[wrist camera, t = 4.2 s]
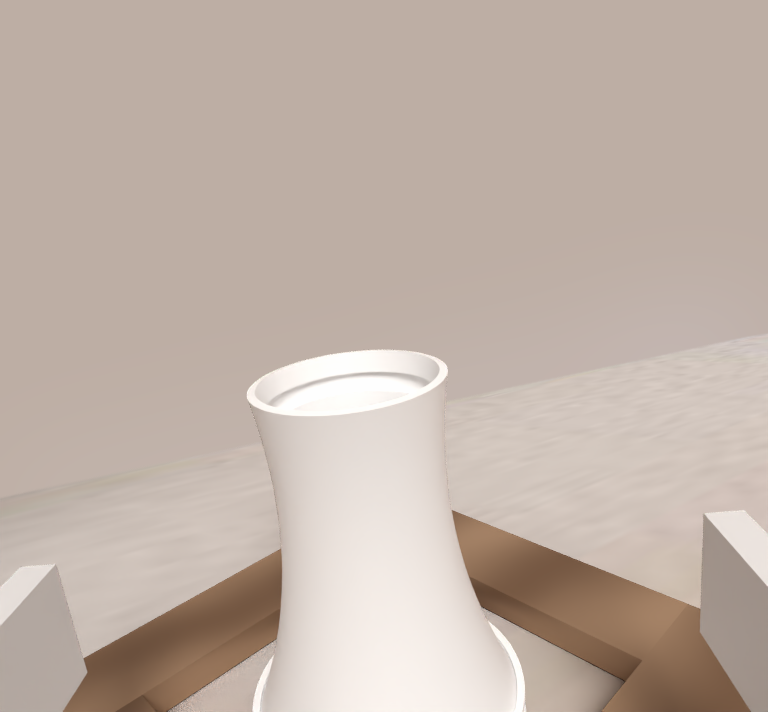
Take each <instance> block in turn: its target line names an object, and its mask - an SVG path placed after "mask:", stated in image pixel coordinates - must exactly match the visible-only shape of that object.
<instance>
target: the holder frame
mask: <svg viewBox="0 0 768 712" xmlns="http://www.w3.org/2000/svg"><path fill="white" fill-rule="evenodd" d="M452 515H453V520H454V525H455V530H456V534H457V538H458V542H459V546H460V550H461V553H462V557H463V560H464V564H465V567H466V570H467V573H468V576H469V579H470V581H471V584H472V587H473V589H474V592H475V594H476V597H477V599H478V601H479V603H480V606H482V607H484V608H486V609H487V610H489V611H491V612H493V613H495V614H497V615H499V616H501V617H503V618H505V619H507V620H509V621H511V622H512V623H514V624H516V625H518V626H520V627H522V628H524V629H526V630H528V631H530V632H532V633H534V634H536V635H538V636H539V637H541V638H543V639H545V640H547V641H549V642H551V643H553V644H555V645H557V646H559V647H561V648H563V649H564V650H566V651H568V652H570V653H572V654H574V655H576V656H578V657H580V658H582V659H584V660H586V661H588V662H590V663H591V664H593V665H595V666H597V667H599V668H601V669H603V670H605V671H607V672H609V673H611V674H613V675H615V676H616V677H618V678H620V679H622V680H624V681H626V682H625V683H624V684H623V685H622V686H621V688H620V689H619V690H618V691H617V693H616V694H615V695H614V696H613V698H612V699H611V700H610V701H609V703H608V704H607V705H606V706H605V708H604V709H603V710H602V711H601V712H751V711H750V709H749V708H748V706H747V705H746V703H745V702H744V700H743V698H742V697H741V695H740V694H739V692H738V691H737V689H736V687H735V686H734V684H733V683H732V681H731V680H730V678H729V677H728V675H727V673H726V672H725V670H724V669H723V667H722V666H721V664H720V662H719V661H718V659H717V658H716V656H715V655H714V653H713V652H712V650H711V648H710V647H709V645H708V644H707V642H706V641H705V639H704V638H703V636H702V634H701V633H700V609H699V608H696V607H694V606H691V605H689V604H686V603H684V602H681V601H679V600H676V599H674V598H671V597H669V596H666V595H664V594H661V593H659V592H656V591H654V590H651V589H649V588H646V587H644V586H641V585H639V584H636V583H634V582H631V581H629V580H626V579H624V578H621V577H619V576H616V575H613V574H611V573H608V572H606V571H603V570H601V569H598V568H596V567H593V566H591V565H588V564H586V563H583V562H581V561H578V560H576V559H573V558H571V557H568V556H566V555H563V554H561V553H558V552H556V551H553V550H551V549H548V548H546V547H543V546H541V545H538V544H536V543H533V542H531V541H528V540H526V539H523V538H521V537H518V536H516V535H513V534H511V533H508V532H505V531H503V530H500V529H498V528H495V527H493V526H490V525H488V524H485V523H483V522H480V521H478V520H475V519H473V518H470V517H468V516H465V515H463V514H460V513H458V512H455V511H453V510H452ZM281 595H282V553H281V549H280V550H278V551H276V552H274V553H272V554H271V555H269V556H267V557H265V558H263V559H262V560H260V561H258V562H256V563H254V564H253V565H251V566H249V567H247V568H245V569H244V570H242V571H240V572H238V573H236V574H235V575H233V576H231V577H229V578H227V579H226V580H224V581H222V582H220V583H218V584H217V585H215V586H213V587H211V588H209V589H208V590H206V591H204V592H202V593H200V594H199V595H197V596H195V597H193V598H191V599H190V600H188V601H186V602H184V603H182V604H181V605H179V606H177V607H175V608H173V609H172V610H170V611H168V612H166V613H164V614H163V615H161V616H159V617H157V618H155V619H154V620H152V621H150V622H148V623H146V624H145V625H143V626H141V627H139V628H138V629H136V630H134V631H132V632H130V633H129V634H127V635H125V636H123V637H121V638H120V639H118V640H116V641H114V642H112V643H111V644H109V645H107V646H105V647H103V648H102V649H100V650H98V651H96V652H94V653H93V654H91V655H89V656H87V657H85V658H84V662H85V666H86V669H87V674H86V676H85V677H84V679H83V680H82V682H81V684H80V685H79V687H78V688H77V690H76V691H75V693H74V695H73V696H72V698H71V699H70V701H69V702H68V704H67V705H66V707H65V709H64V710H63V712H166V711H168V710H169V709H171V708H172V707H174V706H175V705H177V704H178V703H180V702H181V701H183V700H184V699H186V698H187V697H189V696H190V695H192V694H193V693H195V692H196V691H198V690H199V689H201V688H203V687H204V686H206V685H207V684H209V683H210V682H212V681H213V680H215V679H216V678H218V677H219V676H221V675H222V674H224V673H225V672H227V671H228V670H230V669H231V668H233V667H234V666H236V665H237V664H239V663H240V662H242V661H243V660H245V659H246V658H248V657H249V656H251V655H252V654H254V653H255V652H257V651H258V650H260V649H261V648H263V647H264V646H266V645H267V644H269V643H270V642H272V641H273V640H275V639H277V634H278V628H279V620H280V610H281Z"/></svg>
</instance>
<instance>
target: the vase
mask: <svg viewBox="0 0 768 712" xmlns="http://www.w3.org/2000/svg"><path fill="white" fill-rule="evenodd" d="M447 374H448V368H447V366H446V364H445V363H444V362H442V361H441V360H439V359H438V358H435V357H433V356H430V355H427V354H423V353H418V352H411V351H403V350H365V351H353V352H345V353H338V354H331V355H326V356H321V357H316V358H312V359H308V360H304V361H300V362H297V363H293V364H290V365H287V366H285V367H282V368H279V369H277V370H275V371H273V372H270V373H268V374H266V375H265V376H263V377H261V378H260V379H258V380H257V381H256V382H255V383H253V384H252V385H251V386H250V388H249V389H248V391H247V399H248V402H249V405H250V407H251V410H252V413H253V416H254V419H255V421H256V424H257V427H258V431H259V434H260V437H261V440H262V444H263V448H264V451H265V455H266V459H267V462H268V466H269V471H270V475H271V480H272V484H273V489H274V495H275V500H276V506H277V513H278V521H279V529H280V539H281V553H282V595H281V610H280V620H279V628H278V634H277V641H276V646H275V652H274V655H273V656H272V658H271V659H270V661H269V662H268V664H267V666H266V667H265V669H264V671H263V673H262V675H261V677H260V680H259V682H258V685H257V688H256V691H255V695H254V701H253V711H252V712H526V705H525V685H524V677H523V672H522V668H521V665H520V662H519V660H518V657H517V655H516V653H515V651H514V649H513V648H512V646H511V645H510V643H509V642H508V640H507V639H506V638H505V637H504V635H503V634H502V633H501V632H500V631H499V630H498V629H497V628H496V627H495V626H494V625H493V624H491V623H490V622H489V621H488V620H487V619H486V616H485V614H484V612H483V610H482V608H481V606H480V603H479V601H478V599H477V597H476V594H475V592H474V589H473V587H472V584H471V581H470V579H469V576H468V573H467V570H466V567H465V564H464V560H463V557H462V553H461V550H460V546H459V542H458V538H457V534H456V530H455V525H454V520H453V515H452V509H451V503H450V496H449V489H448V479H447V469H446V450H445V402H446V384H447ZM261 702H262V703H261Z"/></svg>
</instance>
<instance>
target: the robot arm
mask: <svg viewBox="0 0 768 712" xmlns="http://www.w3.org/2000/svg"><path fill="white" fill-rule="evenodd" d="M700 633H701V634H702V636H703V638H704V639H705V641H706V642H707V644H708V645H709V647H710V648H711V650H712V652H713V653H714V655H715V656H716V658H717V659H718V661H719V662H720V664H721V666H722V667H723V669H724V670H725V672H726V673H727V675H728V677H729V678H730V680H731V681H732V683H733V684H734V686H735V687H736V689H737V691H738V692H739V694H740V695H741V697H742V698H743V700H744V702H745V703H746V705H747V706H748V708H749V709H750V711H751V712H768V533H767V532H766V531H765V530H764V529H763V528H762V527H761V526H760V525H759V524H758V523H757V522H756V521H755V520H754V519H753V518H752V517H751V516H750V515H749V514H748V513H747V512H746V511H745V510H738V511H726V512H713V513H704V516H703V547H702V578H701V609H700ZM86 674H87V669H86V666H85V662H84V659H83V655H82V652H81V648H80V645H79V641H78V638H77V635H76V631H75V628H74V624H73V621H72V617H71V614H70V610H69V607H68V603H67V600H66V597H65V593H64V590H63V586H62V583H61V579H60V576H59V572H58V569H57V566H56V564H48V565H35V566H22V567H20V568H19V569H18V570H17V571H16V572H15V573H14V574H13V575H12V576H11V577H10V578H9V579H8V580H7V581H6V582H5V583H4V584H3V585H2V586H1V587H0V712H63V710H64V709H65V707H66V705H67V704H68V702H69V701H70V699H71V698H72V696H73V695H74V693H75V691H76V690H77V688H78V687H79V685H80V684H81V682H82V680H83V679H84V677H85V676H86Z"/></svg>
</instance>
